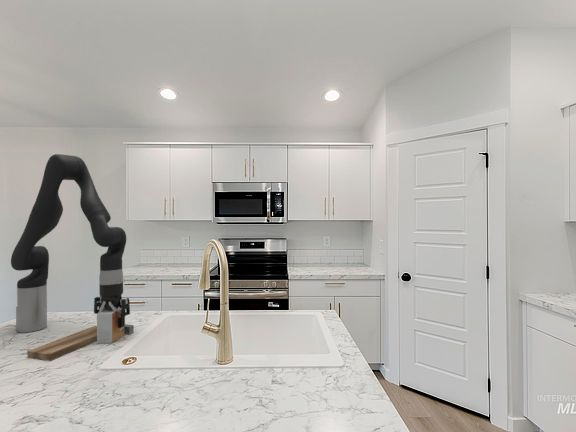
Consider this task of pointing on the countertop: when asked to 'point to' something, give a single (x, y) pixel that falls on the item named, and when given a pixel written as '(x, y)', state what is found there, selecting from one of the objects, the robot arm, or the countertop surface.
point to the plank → (64, 345)
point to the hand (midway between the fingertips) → (111, 326)
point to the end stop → (128, 329)
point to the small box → (108, 327)
